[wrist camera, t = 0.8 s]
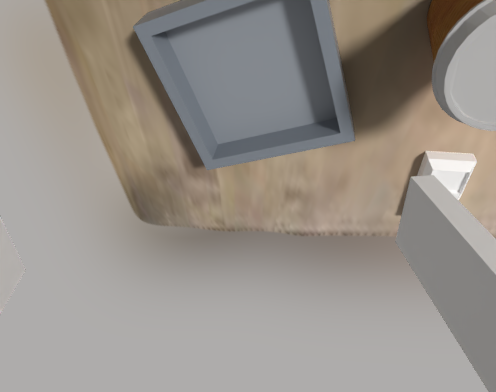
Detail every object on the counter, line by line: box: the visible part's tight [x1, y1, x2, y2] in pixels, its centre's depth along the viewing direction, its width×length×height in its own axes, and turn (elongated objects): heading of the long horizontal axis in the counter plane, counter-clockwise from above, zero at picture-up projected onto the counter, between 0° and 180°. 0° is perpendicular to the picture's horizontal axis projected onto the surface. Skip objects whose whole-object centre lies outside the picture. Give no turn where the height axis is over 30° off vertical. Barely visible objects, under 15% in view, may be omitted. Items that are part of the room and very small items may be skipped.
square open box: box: [133, 0, 355, 170], centre depth 37 cm, size 16×16×4 cm
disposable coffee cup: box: [427, 0, 496, 131], centre depth 28 cm, size 10×10×12 cm
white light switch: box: [417, 151, 477, 201], centre depth 44 cm, size 5×9×3 cm, turn 2°
